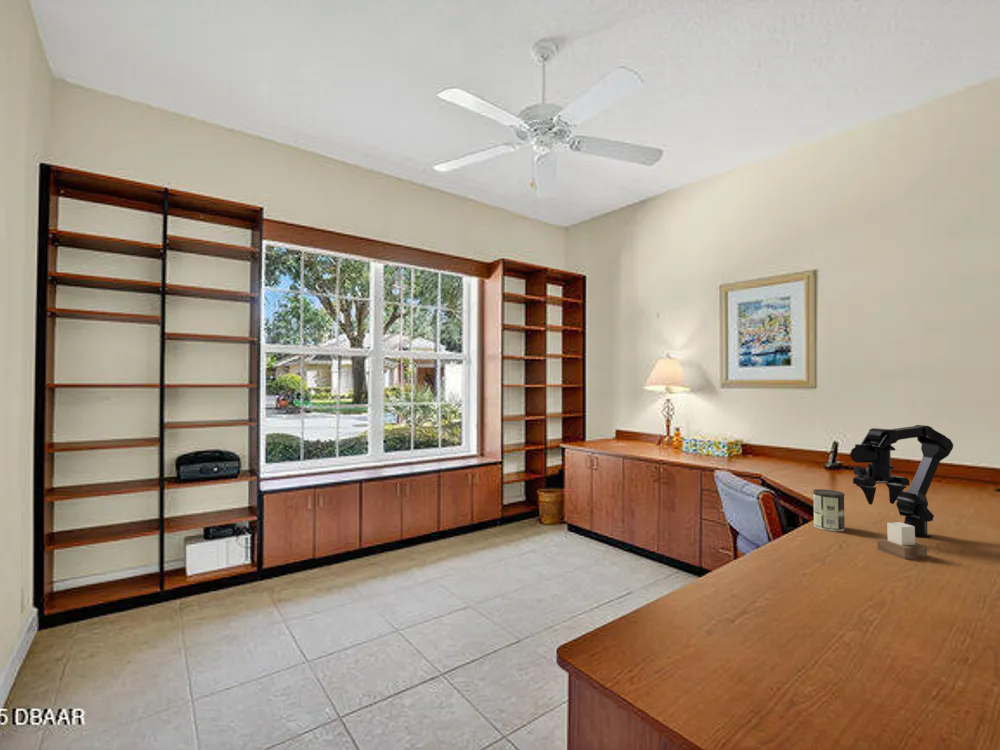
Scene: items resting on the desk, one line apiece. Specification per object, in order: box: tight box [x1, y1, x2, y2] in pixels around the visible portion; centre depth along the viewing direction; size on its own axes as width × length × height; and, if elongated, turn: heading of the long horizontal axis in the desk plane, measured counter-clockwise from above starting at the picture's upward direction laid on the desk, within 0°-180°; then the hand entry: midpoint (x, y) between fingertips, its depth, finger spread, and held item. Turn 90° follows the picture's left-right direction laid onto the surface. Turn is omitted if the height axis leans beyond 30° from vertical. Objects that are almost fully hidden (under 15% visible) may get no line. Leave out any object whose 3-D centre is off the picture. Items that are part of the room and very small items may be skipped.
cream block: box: [886, 521, 916, 545], centre depth 159 cm, size 5×5×6 cm
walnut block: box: [877, 537, 928, 560], centre depth 159 cm, size 9×9×4 cm
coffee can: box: [812, 488, 846, 532], centre depth 188 cm, size 10×10×14 cm
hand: (881, 503), depth 177 cm, fingers open, 9 cm apart
